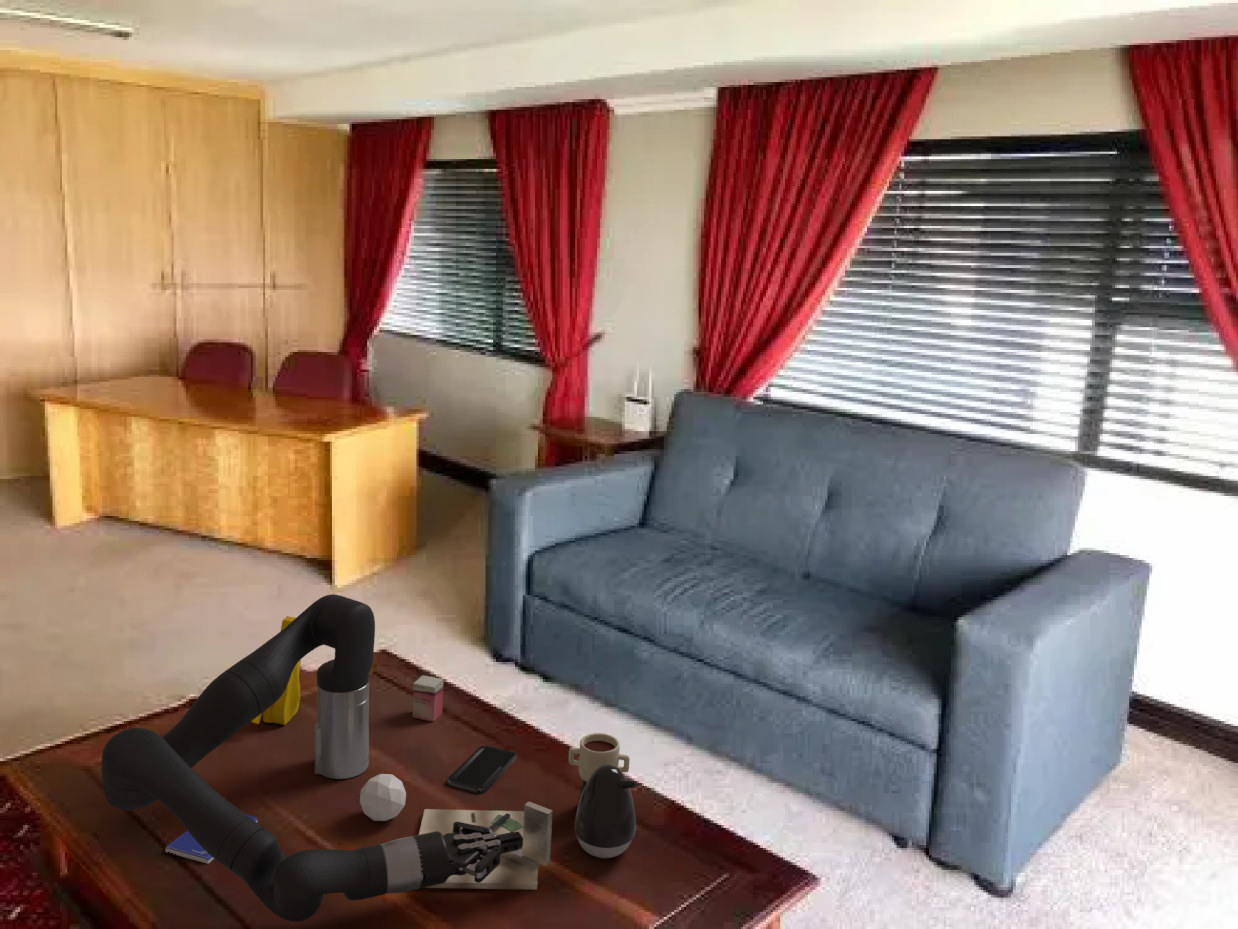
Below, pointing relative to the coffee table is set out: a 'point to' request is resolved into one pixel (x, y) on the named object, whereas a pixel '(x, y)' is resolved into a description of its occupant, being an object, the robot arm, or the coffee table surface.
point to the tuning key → (532, 836)
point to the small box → (427, 698)
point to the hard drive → (191, 847)
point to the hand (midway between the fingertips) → (521, 840)
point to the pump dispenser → (606, 813)
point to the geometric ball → (383, 797)
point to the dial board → (507, 871)
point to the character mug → (597, 755)
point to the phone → (482, 769)
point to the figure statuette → (284, 696)
